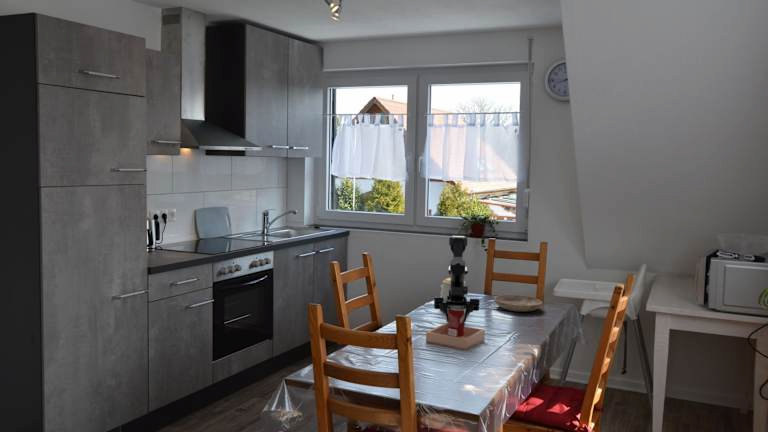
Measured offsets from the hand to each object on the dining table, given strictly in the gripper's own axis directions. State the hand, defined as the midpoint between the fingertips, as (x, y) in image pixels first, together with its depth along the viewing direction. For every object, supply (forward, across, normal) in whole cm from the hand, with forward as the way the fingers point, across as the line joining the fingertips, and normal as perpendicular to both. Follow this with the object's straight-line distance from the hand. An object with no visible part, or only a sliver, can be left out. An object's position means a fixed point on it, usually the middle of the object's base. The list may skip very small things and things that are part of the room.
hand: (456, 321), depth 281 cm
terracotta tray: (+5, 0, +7) cm, 9 cm away
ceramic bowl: (-39, +31, +53) cm, 73 cm away
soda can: (+4, 0, +6) cm, 7 cm away
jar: (-33, -1, +46) cm, 57 cm away
